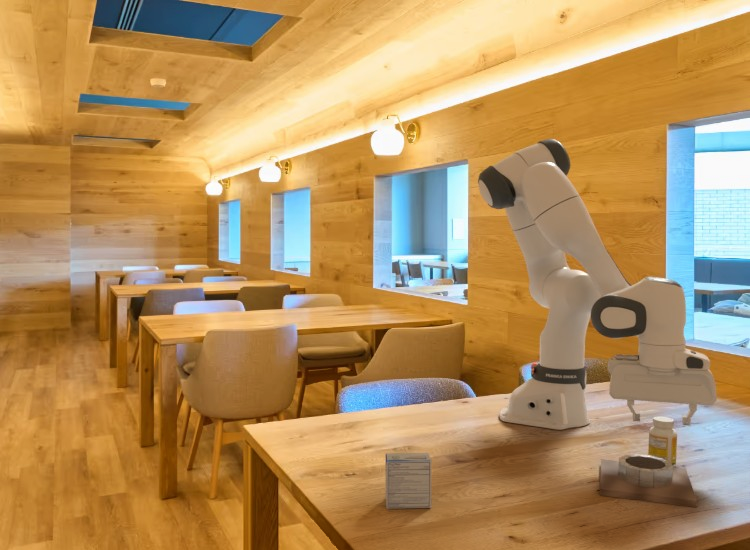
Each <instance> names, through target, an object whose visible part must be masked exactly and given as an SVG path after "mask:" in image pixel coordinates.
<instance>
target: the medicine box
mask: <svg viewBox="0 0 750 550" xmlns="http://www.w3.org/2000/svg"><path fill="white" fill-rule="evenodd" d="M432 463H433V462H432V460H431V456H430V453H428V452H387V453H385V464H384V465H385V469H384V470H385V506H386V508H385V509H387V510H392V509H393V510H394V509H396V510H397V509H431V508H432V469H433V468H432Z"/></svg>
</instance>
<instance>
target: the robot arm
mask: <svg viewBox="0 0 750 550" xmlns="http://www.w3.org/2000/svg"><path fill="white" fill-rule="evenodd" d="M570 169H571V160H570V156H569V154H568V152H567V150H566V148H565V147H564V145H563V144H562V143H561V142H560V141H559V140H556V139H554V138H549V139H548V138H547V139H544V140H540V141H538V142H537V143H534V144H531V145H529V146H527V147H524V148H521V149H519V150H517V151H514V152H513V153H512V154H510V155H508V156H507V157H505V158H502V159H501V160H500V161H498V162H496V163H495V164H494V165H489V166H488V167H486V168H484V169H483V170H482V171H481V172H480V173H479V175H478V178H477V179H478V180H477V183H478V188H479V189H478V190H479V194H480V196H481V198H482V199H483V201H484V202H485V203H486V204H487V205H488V206H489V207H490V208H492V209H496V210H503V209H504V210H505V214H506V217H507V220H508V223H509V225H510V228H511V230H512V232H513V235H514V237H515V240H516V241H517V244H518V246H519V249H520V251H521V253H522V257H523V259H524V262H525V265H526V270H527V276H528V279H529V282H528V283H529V284H528V292H529V294H530V296H531V298H532V299H533V300H534V301H535V302H536V303H537V304H538V305H540V306H541V307H543V308H545V309H548V315H547V319H546V323H545V326H544V328H543V329H542V330H541V333H540V334H539V363H538V362H537V361H536V362H532V364H531V365H530V376H531V378H529V379H528V380H527V381H525V382H524V383H522V384H521V385H519V386H518V387H516V388H515V389H514V390H513V391H512V392H511V395H510V397H509V400H508V405H507V406H505V407H503V408H501V410H500V412H499V419H500V420H501V421H503V422H504V423H505V422H506V423H511V424H517V425H524V426H532V427H537V428H543V429H544V428H545V429H550V430H551V429H552V430H557V431H558V430H561V431H562V430H566V429H570V428H579V427H583V426H587V425H589V424H590V422H591V420H590V416H589V414H588V409H587V408H588V407H587V401H586V392H585V391H586V387H587V367H586V366H585V353H586V351H585V350H586V349H585V348H586V346H585V345H586V335H587V330H588V327H589V322H590V321H591V324H592V326H593V328H594V330H595V331H596V332H598V333H599V334H600V335H602V336H603V337H605V338H608V339H616V340H618V339H623V338H630V337H637V338H638V354H622V353H621V354H620V353H619V354H615V355H613V356H611V357H610V358H609V359H608V362H607V371H608V373H609V374H610V381H609V390H608V391H609V393H608V395H609V396H610V397H611V399H614V400H625V401H626V406H627V408H629V410H630V413H631V414H632V422H641V411H637V410H636V409H635V407H634V406H635V401H640V402H653V403H654V402H655V403H667V404H669V403H670V404H681V405H682V404H683V405H688V409H689V410H688V412H687V414H682V415H681V423H682V424H681V425H682V426H689V427H691V420H692V419H691V418H693V416H694V414H695V413H696V412H697V410H698V407H697V406H711V407H712V406H713V405H715V404H716V403H717V400H718V399H717V397H718V396H717V387H716V380H715V378H714V374H713V373H712V371H711V370H710V367H711V360H710V359H709V357H708V356H707V355H706V354H704V353H702V352H698V351H694V350H693V349H689V348H686V343H687V342H686V338H685V334H684V333H685V332H684V330H685V327H686V324H687V312H686V311H687V309H686V308H687V306H686V298H685V297H686V296H685V291H684V288H683V287H682V285H681V284H680V283H678V282H677V281H675V280H673V279H670V278H666V277H660V276H657V277H656V276H645V277H644V278H642V279H641V280H640V281H638V282H636V283H635V284H631V283H630V282H629V281H628V280H627V279H626V277H625V276H624V274H623V273H622V271H621V270H620V268H619V266H618V264H616V262H615V261H614V259H613V257H612V255H611V254H610V253H609V251H608V249H607V247H606V246H605V244H604V243H603V241H602V238H601V236H600V234H599V232H598V230H597V227H596V226H595V224H594V221H593V218H592V216H591V215H590V213H589V211H588V209H587V206H586V203H584V201H583V199H582V198H581V196H580V194H579V193H578V192H579V191H577V189H576V187H575V186H574V184H573V183H572V181H570V179H569V178H568V174H569V172H570ZM566 254H567V255H569V256H570V257H573V258H574V259H575V260H576V261H577V262H579V264H580V265H581V266H582V268H583V269H584V270H585V271H586V272H585V271H583V270H580V269H572V268H570V266H569V264H568V262H567V257H566Z"/></svg>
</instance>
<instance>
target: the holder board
mask: <svg viewBox="0 0 750 550" xmlns="http://www.w3.org/2000/svg"><path fill="white" fill-rule="evenodd" d="M687 470H688V469H687V467H679V466H678V467H677V466H675V467H672V463H670V462H668V461H666V460H664V459H662V458H658V457H654V456H650V455H648V454H639V453H638V454H635V453H634V454H625V455H622V456H619V457H618V460H613V459H612V460H611V459H604V458H603V459H602V458H600V481H599V484H600V485H599V495H600V496H603V497H612V498H621V499H626V500H627V499H628V500H634V501H635V500H637V501H643V502H651V503H660V504H669V505H677V506H683V507H684V506H685V507H693V508H698V507H697V505H698V500H697V497H696V494H695V491H694V488H693V486H692V483H691V479H690V476H689V474H688V471H687Z"/></svg>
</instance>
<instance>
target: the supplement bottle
mask: <svg viewBox="0 0 750 550" xmlns="http://www.w3.org/2000/svg"><path fill="white" fill-rule="evenodd" d="M652 425H653V426H651V427H650V428H649V430H648V453H647V455H650V456H654V457H658V458H662V459H664V460H666V461H668V462H670V463H672V467H676V465H677V448H678V447H677V446H678V445H677V444H678V433H677V431H676V429H674V427H675V420H674V419H673V418H672V417H671V418H670V417H668V416H654V417H653V418H652Z"/></svg>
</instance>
